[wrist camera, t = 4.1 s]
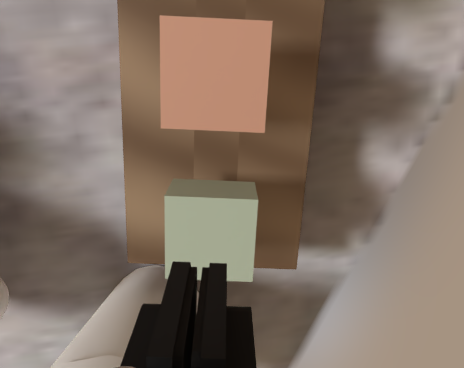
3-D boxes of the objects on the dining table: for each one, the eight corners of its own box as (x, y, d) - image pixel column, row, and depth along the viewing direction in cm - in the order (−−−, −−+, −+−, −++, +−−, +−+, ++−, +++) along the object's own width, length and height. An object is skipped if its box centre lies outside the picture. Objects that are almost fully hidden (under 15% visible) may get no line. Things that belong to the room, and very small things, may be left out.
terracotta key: (182, 30, 20) (159, 15, 14) (259, 34, 20) (272, 21, 14) (181, 109, 21) (160, 128, 15) (254, 112, 21) (264, 133, 15)
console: (127, -335, 18) (99, -443, 14) (340, -321, 18) (369, -424, 14) (142, 234, 27) (127, 262, 23) (286, 240, 27) (296, 269, 23)
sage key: (182, 159, 23) (164, 195, 16) (250, 162, 23) (258, 199, 16) (182, 222, 24) (165, 278, 18) (246, 224, 24) (252, 282, 18)
